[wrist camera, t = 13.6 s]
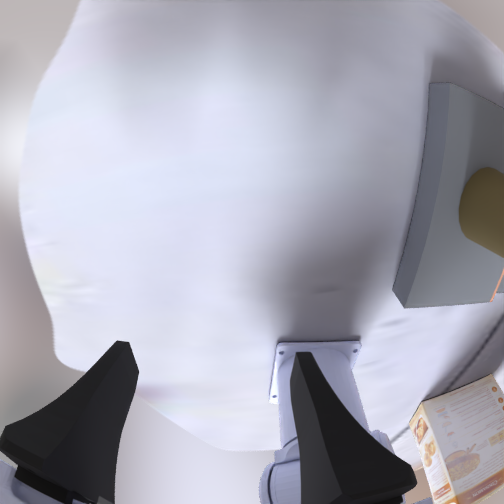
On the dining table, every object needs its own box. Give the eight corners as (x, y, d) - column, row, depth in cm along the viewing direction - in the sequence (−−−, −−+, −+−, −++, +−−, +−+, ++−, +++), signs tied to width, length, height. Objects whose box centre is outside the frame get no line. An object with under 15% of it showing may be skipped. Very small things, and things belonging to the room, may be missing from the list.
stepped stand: (506, 286, 23) (518, 298, 20) (392, 290, 22) (404, 308, 20) (543, 140, 15) (560, 146, 13) (429, 83, 15) (449, 82, 12)
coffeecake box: (407, 424, 34) (437, 524, 17) (420, 400, 31) (460, 514, 14) (476, 397, 33) (513, 480, 16) (492, 372, 30) (538, 460, 13)
